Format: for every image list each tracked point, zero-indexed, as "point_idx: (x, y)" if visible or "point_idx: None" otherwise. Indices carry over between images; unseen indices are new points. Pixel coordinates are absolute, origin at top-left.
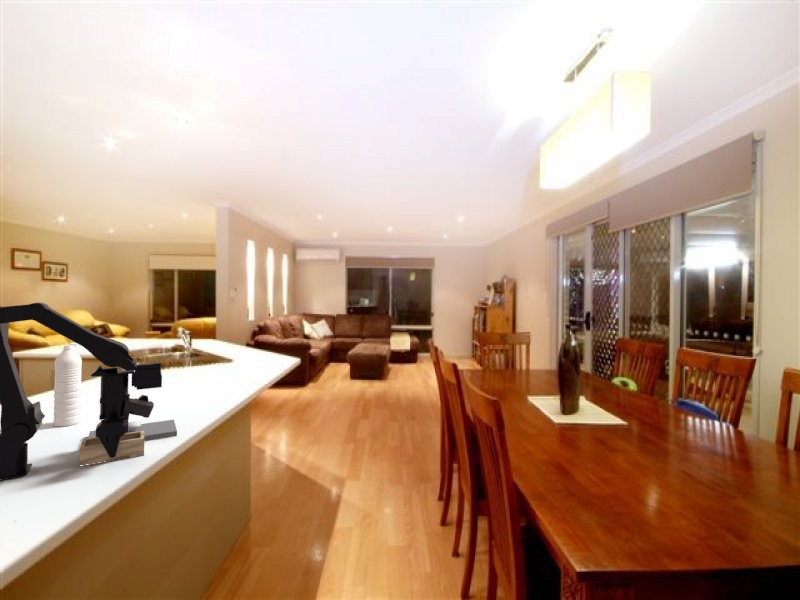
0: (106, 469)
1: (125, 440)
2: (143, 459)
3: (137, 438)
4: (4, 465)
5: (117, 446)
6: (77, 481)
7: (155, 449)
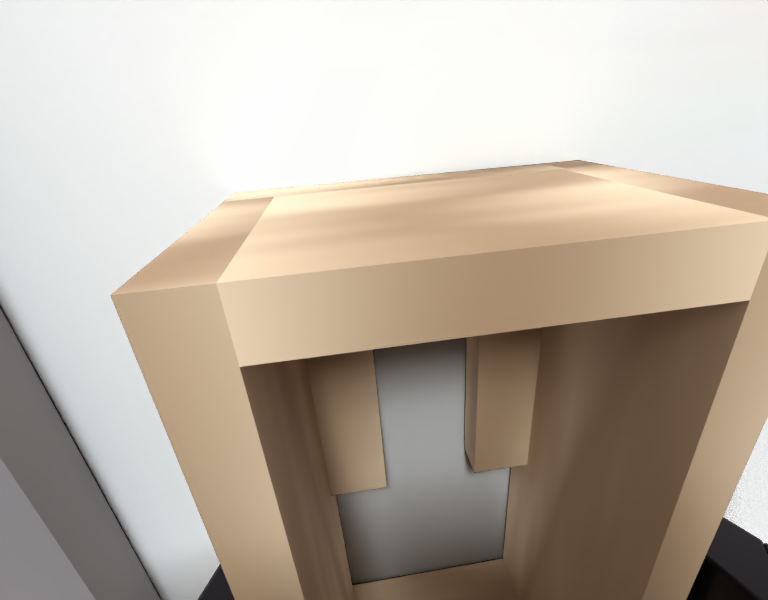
0: None
1: (696, 512)
2: (698, 155)
3: (752, 354)
4: None
5: (726, 523)
6: (761, 513)
7: (415, 6)
